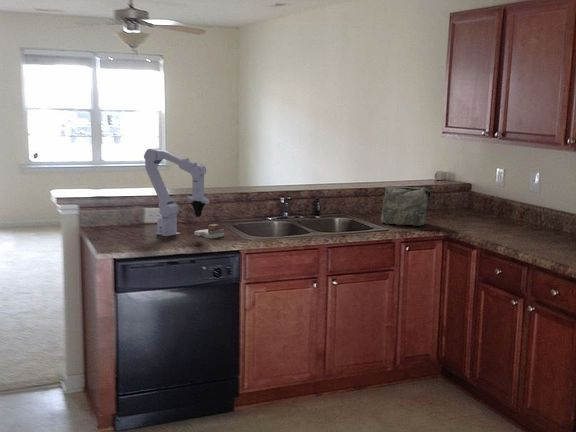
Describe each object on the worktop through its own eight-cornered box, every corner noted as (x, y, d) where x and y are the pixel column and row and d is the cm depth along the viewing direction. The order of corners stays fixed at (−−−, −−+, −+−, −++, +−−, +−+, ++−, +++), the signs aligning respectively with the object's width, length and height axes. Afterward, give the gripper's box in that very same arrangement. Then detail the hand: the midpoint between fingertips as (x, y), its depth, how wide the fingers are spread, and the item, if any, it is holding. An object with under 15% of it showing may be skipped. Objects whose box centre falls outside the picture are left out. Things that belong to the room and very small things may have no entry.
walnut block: (213, 233, 331) (213, 225, 330) (208, 232, 334) (208, 224, 333) (219, 232, 334) (219, 224, 333) (214, 231, 337) (214, 223, 336)
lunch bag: (430, 223, 389) (432, 186, 386) (423, 228, 373) (426, 189, 369) (386, 219, 399) (388, 183, 395) (378, 224, 382) (380, 186, 379)
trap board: (210, 238, 329) (210, 231, 328) (194, 235, 337) (194, 228, 336) (223, 236, 336) (223, 229, 335) (207, 232, 343) (208, 226, 343)
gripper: (214, 190, 326) (214, 217, 329) (194, 187, 336) (194, 213, 338) (203, 191, 321) (203, 219, 323) (183, 188, 331) (183, 215, 333)
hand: (198, 216), depth 330 cm, fingers closed
